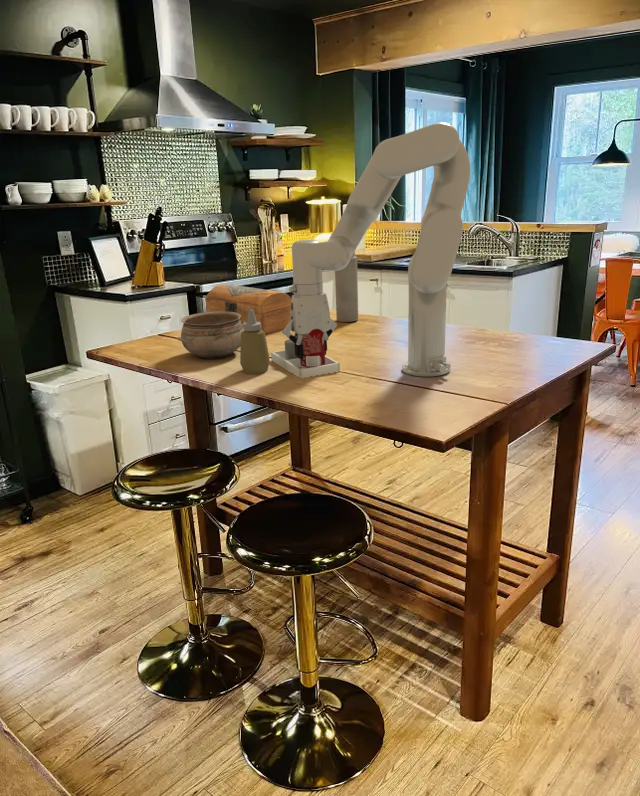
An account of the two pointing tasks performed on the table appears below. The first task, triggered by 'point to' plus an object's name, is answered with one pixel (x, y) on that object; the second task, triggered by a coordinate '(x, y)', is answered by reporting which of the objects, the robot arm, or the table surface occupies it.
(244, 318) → the wooden box
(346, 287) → the thermos bottle
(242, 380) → the table surface
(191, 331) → the cooking pot
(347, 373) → the table surface
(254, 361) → the squeeze bottle
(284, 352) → the caddy
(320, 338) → the soda can
